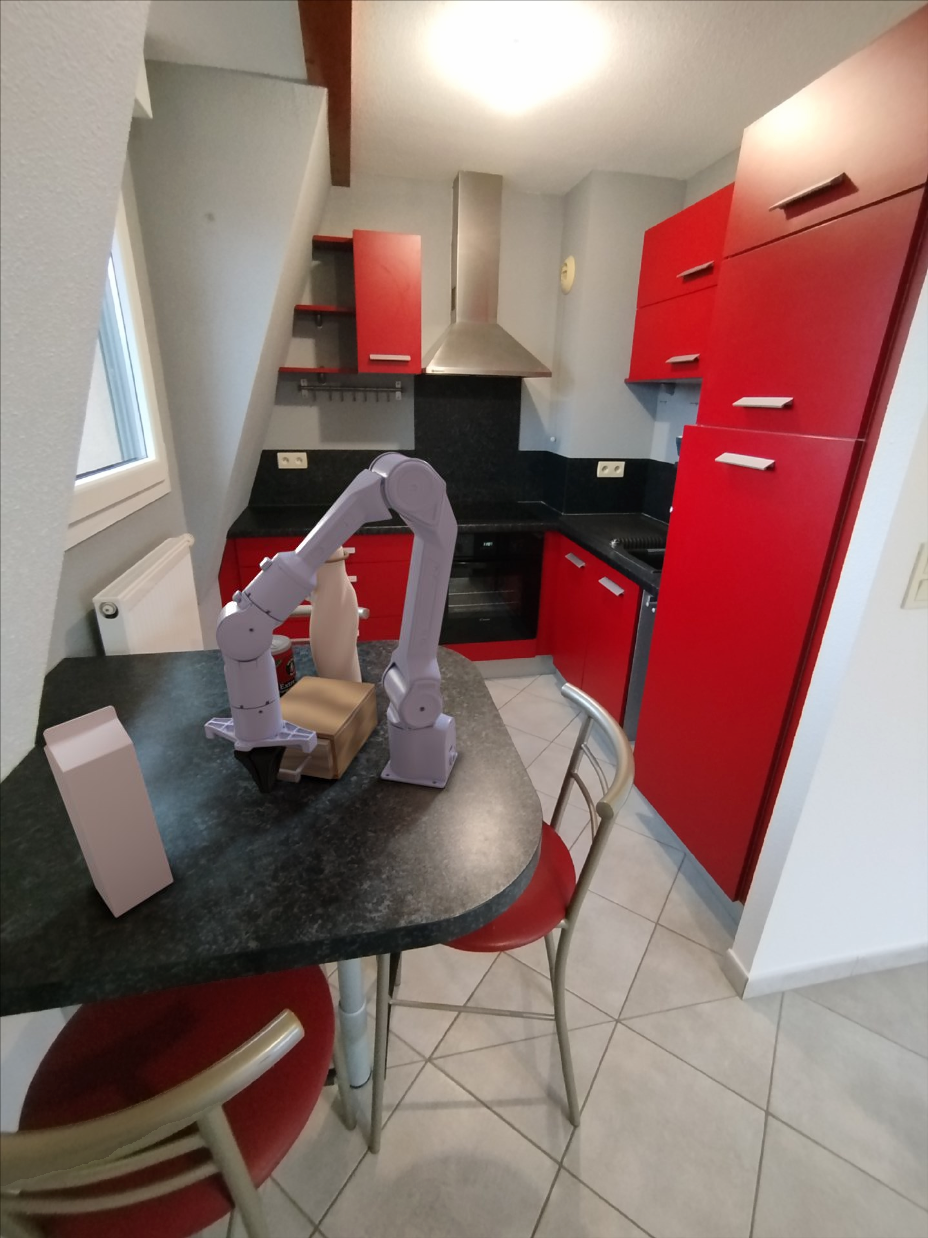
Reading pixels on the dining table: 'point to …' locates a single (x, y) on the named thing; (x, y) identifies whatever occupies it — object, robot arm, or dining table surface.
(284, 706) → the cabinet
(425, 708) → the robot arm
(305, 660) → the dining table surface
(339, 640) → the water bottle
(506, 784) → the dining table surface
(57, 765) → the milk
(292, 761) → the drawer
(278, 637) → the canned food
